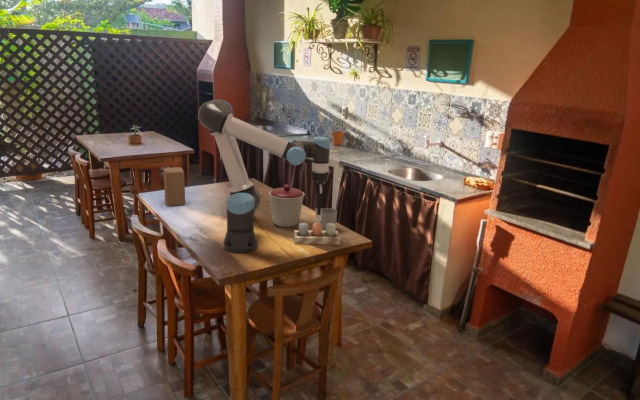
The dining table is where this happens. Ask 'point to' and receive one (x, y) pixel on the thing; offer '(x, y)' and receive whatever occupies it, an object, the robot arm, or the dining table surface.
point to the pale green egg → (330, 229)
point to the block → (174, 186)
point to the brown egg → (317, 229)
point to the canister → (286, 205)
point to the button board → (316, 238)
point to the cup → (328, 217)
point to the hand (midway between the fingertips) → (318, 220)
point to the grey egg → (303, 229)
